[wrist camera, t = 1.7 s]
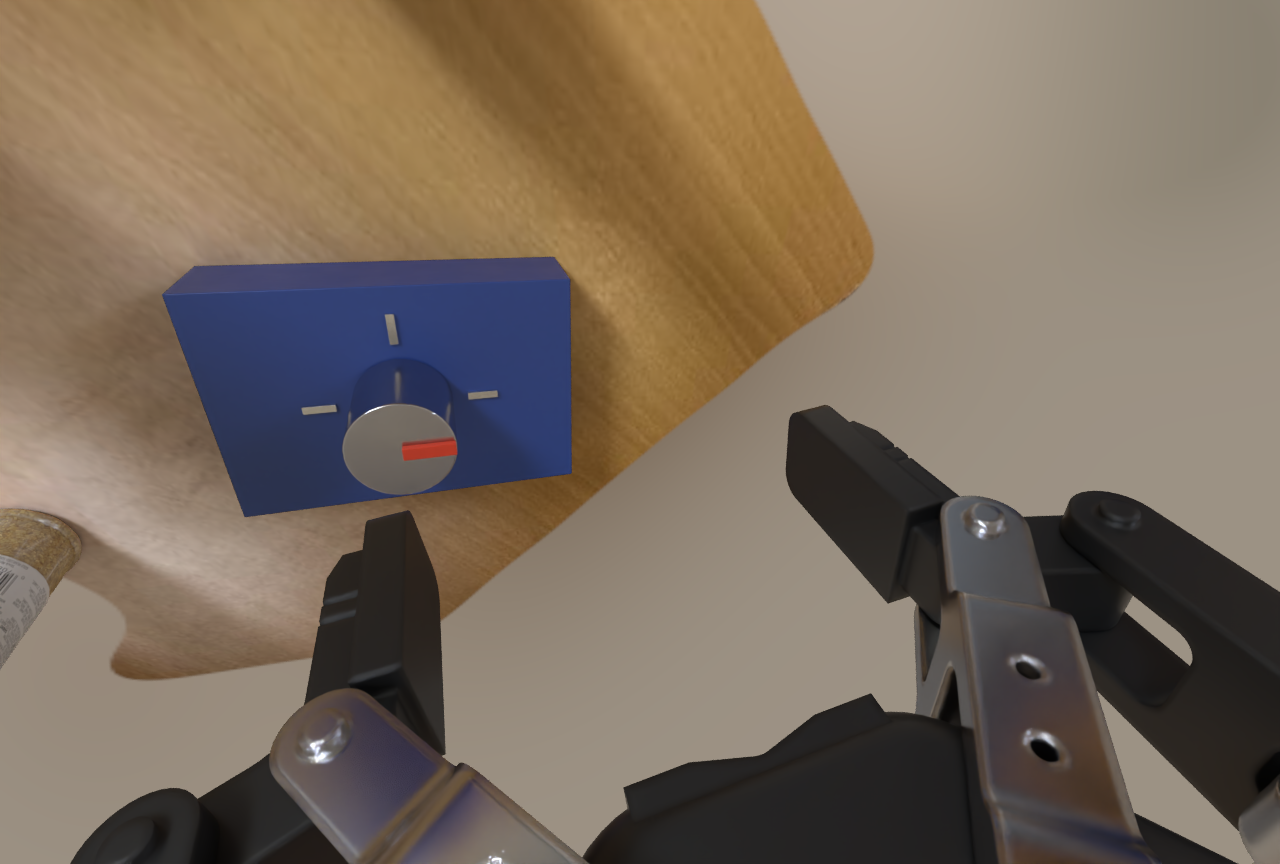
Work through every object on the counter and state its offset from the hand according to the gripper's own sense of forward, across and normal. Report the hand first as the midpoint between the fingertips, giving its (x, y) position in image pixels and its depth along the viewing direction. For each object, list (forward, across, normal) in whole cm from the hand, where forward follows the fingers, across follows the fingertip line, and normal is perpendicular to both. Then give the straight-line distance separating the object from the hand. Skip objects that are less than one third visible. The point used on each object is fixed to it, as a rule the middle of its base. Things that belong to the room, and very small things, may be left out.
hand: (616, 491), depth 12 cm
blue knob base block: (+21, +6, +5) cm, 23 cm away
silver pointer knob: (+17, +6, +5) cm, 19 cm away
